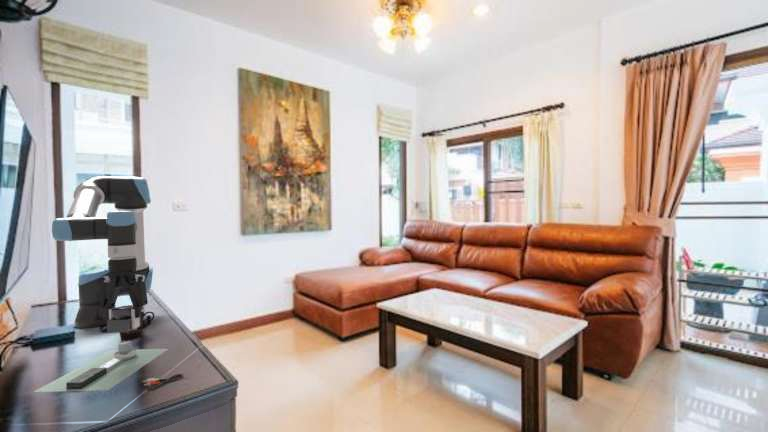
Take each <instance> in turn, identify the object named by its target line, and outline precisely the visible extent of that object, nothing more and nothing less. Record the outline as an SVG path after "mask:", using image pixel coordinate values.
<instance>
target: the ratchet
mask: <svg viewBox="0 0 768 432" xmlns="http://www.w3.org/2000/svg"><path fill="white" fill-rule="evenodd" d="M137 349H138V348H134V347H133V341H132V340H126V341H123V342H120V343H118V350H119V351H118V352H116V353H115V354H114V359H112V360H110V361H109V362H107V363H105V364H103V365H102V366H100V367H98V368H92V369H90V370H88V371H86V372H85V373H83V374H81V375H79V376H78V377H76V378H74V379H72V380H71V381H69V382H67V383H66V388H67V389H82V388H84V387H86V386H87V385H89V384H90V383H92V382H94V381H95V380H97V379H98V378H100V377H102V376H103V375H105V374H107V372H108V371H110V370H112V369H113V368H115V367H117V366H118V365H120V364H121V363H123V362H124V361H128V360H131V359H134V358H135V357H136V356H137Z"/></svg>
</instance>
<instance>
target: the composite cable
mask: <svg viewBox="0 0 768 432" xmlns="http://www.w3.org/2000/svg"><path fill="white" fill-rule="evenodd" d="M182 378H184V374H183V373H178V374H174V375H173V376H170V377H169V378H166V379H165V378H159V377H158V378H157V377H149V378H147V379H145V380H142V383H145V384H144V386H147V387H148V388H149V391H153V390H155V389H158V388H160V387H163V386H164V385H166V383H167V384H170V383H172V382H176V381H179V380H181V379H182Z"/></svg>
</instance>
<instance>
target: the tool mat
mask: <svg viewBox="0 0 768 432" xmlns="http://www.w3.org/2000/svg"><path fill="white" fill-rule="evenodd" d="M136 349H137V356H136V357H135V358H134V359H131V360H128V361H124V362H123V363H121V364H120V365H118V366H117V367H115V368H113V369H112V370H110V371H108V372H107V374H105V375H103V376H102V377H100V378H98V379H97V380H95V381H94V382H92V383H90V384H89V385H87V386H86V387H84V388H82V389H67V388H66V383H67V382H69V381H71V380H72V379H74V378H76V377H78V376H79V375H81V374H83V373H85V372H86V371H88V370H90V369H92V368H98V367H100V366H102V365H103V364H105V363H107V362H109V361H110V360H112V359H114V354H115V353H116V352H118V351H119V349H110V350H108V351H106V352H105V353H103V354H101V355H99V356H97V357H95V358H93V359H92V360H89V361H88V362H86V363H84V364H82V365H81V366H78V367H77V368H75V369H74V370H71V371H69V372H68V373H66V374H64V375H62V376H60V377H59V378H56V379H55V380H53V381H51V382H49V383H47V384H46V385H44V386H42V387H39V388H38V389H36V390H35V391H33V393H54V392H55V393H56V392H57V393H58V392H90V391H91V392H93V391H110V390H111V389H113V388H114V387H115V386H118V385H119V384H120V383H121V382H123V381H124V380H126V379H127V378H128V377H130V376H131V375H133V374H134V373H136V372H138V371H139V370H140V369H142V368H143V367H144V366H146V365H147V364H149V363H151V362H152V361H154V360H155V359H156V358H158V357H159V356H161V355H162V354H164V353H165V352H166V351H168V350H169V348H148V349H147V348H144V349H142V348H141V349H140V348H139V349H138V348H136Z"/></svg>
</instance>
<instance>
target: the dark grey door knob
mask: <svg viewBox="0 0 768 432" xmlns="http://www.w3.org/2000/svg"><path fill="white" fill-rule="evenodd" d="M115 307H116V308H113V309H112V318H111V319H109V320H107V324H106V329H107V331H106V332H107V334H111V333H113V334H114V333H115V334H116V333H120V332H129V331H131V330H133V329H132V319H131V309H132V308H134V307H133V304H130V305H122V306H121V305H120V306H115ZM139 321H140V326H141V317H139Z"/></svg>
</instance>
